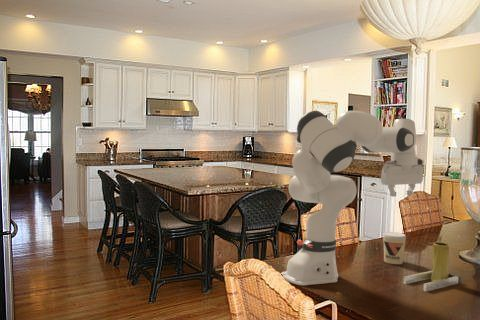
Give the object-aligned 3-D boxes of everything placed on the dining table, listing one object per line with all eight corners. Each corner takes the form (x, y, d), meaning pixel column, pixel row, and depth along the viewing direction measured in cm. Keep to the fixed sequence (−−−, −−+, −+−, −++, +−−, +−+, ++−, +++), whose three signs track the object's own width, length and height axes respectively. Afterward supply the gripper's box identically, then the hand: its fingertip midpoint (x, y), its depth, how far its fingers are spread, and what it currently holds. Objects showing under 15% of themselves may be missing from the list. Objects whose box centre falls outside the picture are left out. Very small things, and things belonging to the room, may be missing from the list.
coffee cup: (380, 262, 184) (381, 235, 183) (384, 257, 192) (385, 230, 191) (403, 266, 179) (404, 237, 179) (406, 260, 188) (407, 233, 187)
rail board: (425, 291, 150) (426, 284, 149) (403, 283, 158) (403, 276, 158) (460, 283, 159) (460, 276, 159) (437, 275, 167) (438, 269, 167)
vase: (433, 277, 165) (435, 241, 164) (450, 281, 161) (452, 243, 160) (428, 281, 160) (430, 243, 159) (446, 285, 156) (448, 246, 156)
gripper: (390, 161, 160) (389, 198, 160) (426, 160, 170) (425, 195, 170) (377, 160, 165) (376, 196, 166) (413, 159, 175) (412, 193, 176)
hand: (401, 195), depth 168 cm, fingers open, 8 cm apart
